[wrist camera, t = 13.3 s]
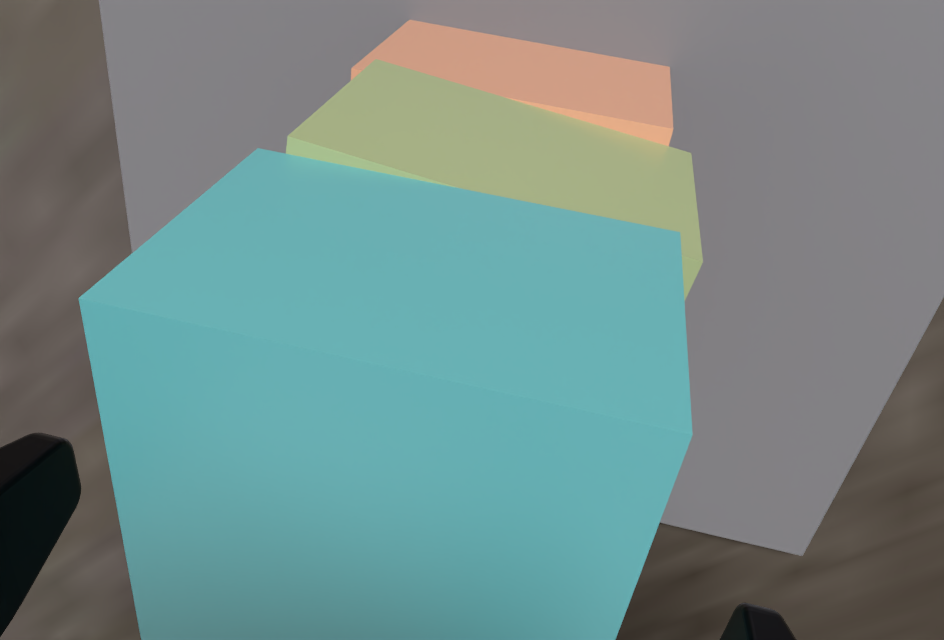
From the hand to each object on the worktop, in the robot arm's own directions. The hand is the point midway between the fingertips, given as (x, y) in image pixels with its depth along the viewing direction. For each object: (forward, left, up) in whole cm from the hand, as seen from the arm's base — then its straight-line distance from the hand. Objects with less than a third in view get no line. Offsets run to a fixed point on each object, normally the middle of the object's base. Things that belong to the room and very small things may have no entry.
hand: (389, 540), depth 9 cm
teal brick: (0, 0, -2) cm, 2 cm away
